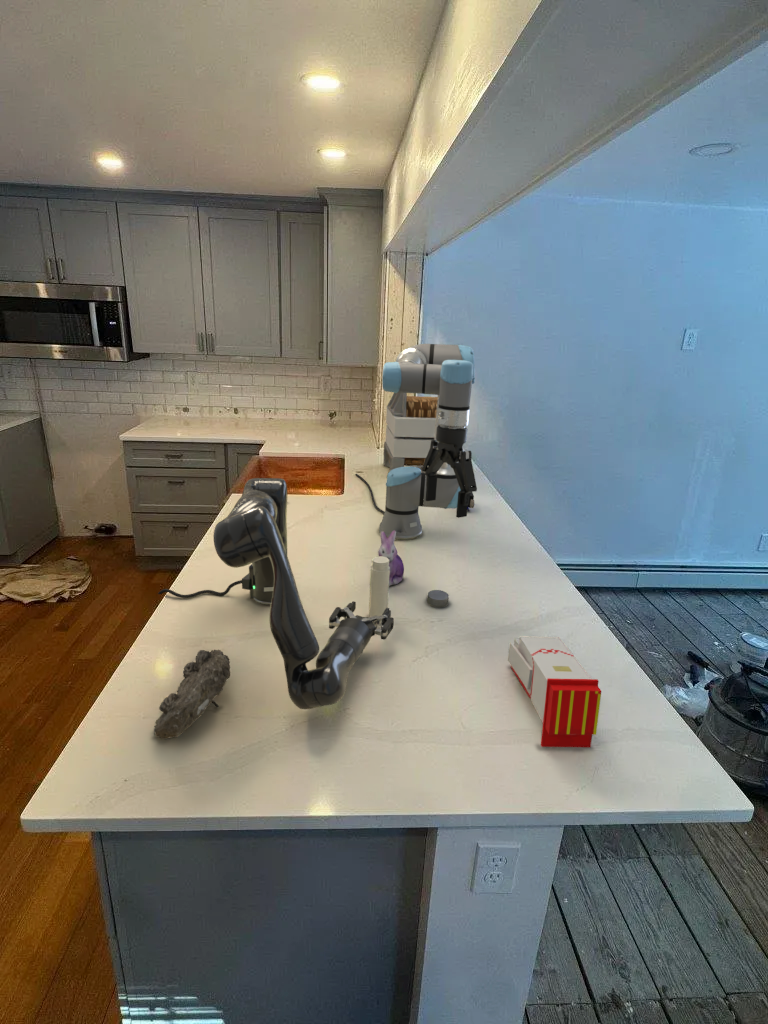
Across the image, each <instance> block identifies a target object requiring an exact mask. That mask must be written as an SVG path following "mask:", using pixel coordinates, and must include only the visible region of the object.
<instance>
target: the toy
mask: <svg viewBox="0 0 768 1024" xmlns="http://www.w3.org/2000/svg"><path fill="white" fill-rule="evenodd" d="M507 662H508V663H509V665H510V669H511V671H512V672H513V674H514V675H515V677H516V678H517V680H518V681H519V683H520V684H521V686H522V688H523V690H524V692H525V693H526V695H527V696H528V698H529V699H530V702H531V703H532V706H533V707H534V709H535V711H536V713H537V715H538V716H539V718H540V721H541V722H542V729H541V739H540V746H541V748H591V747H592V738H593V736H597V730H598V722H599V713H600V707H601V698H602V690H601V688H600V687H599V683H600V681H599V679H597V678H596V679H595V678H592V676H590V674H589V673H588V672H587V671H586V669H585V668H584V667H583V666H582V664H581V663H580V662H579V660H578V659H577V658H576V657H575V655H574V654H573V653H572V651H571V650H570V649H569V648H568V646H567V645H566V644H565V642H564V641H563V640H562V639H561V637H560V636H527V635H526V636H523V635H522V636H521V635H519V637H514V640H513V641H511V642H509V647H508V652H507Z"/></svg>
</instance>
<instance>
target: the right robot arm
mask: <svg viewBox="0 0 768 1024" xmlns="http://www.w3.org/2000/svg"><path fill="white" fill-rule="evenodd" d="M474 352H475V351H474V349H473V347H471V346H469V345H463V344H443V343H439V344H438V343H419V344H415V345H411V346H408V347H405V348H404V349H403V350H402V351H400V352H399V353H398V354H397V357H396V359H395V361H390V362H389V361H386V362H385V363H384V364H383V368H382V379H381V381H382V382H381V383H382V385H381V386H382V390H383V391H384V392H387V393H393V394H394V393H407V394H422V395H433V396H436V397H437V410H436V424H435V437H434V440H432V441H431V445H430V449H429V452H428V454H427V457H426V459H425V462H424V464H423V466H421V468H420V467H419V466H418V467H417V466H404V467H399V468H395V469H393V470H391V471H390V470H389V471H388V473H387V475H386V482H385V487H386V488H385V489H386V490H385V504H384V505H385V507H384V508H385V509H384V510H383V509H381V508H380V507H378V505H377V503H376V501H375V497H374V494H373V493H374V492H373V490H372V488H371V486H370V483H368V482H367V481H366V479H364V478H363V477H362V476H361V475H360V474H358V473H355V474H354V475H355V476H356V477H357V478H359V479H360V480H361V481H362V482H363V483H364V484H365V485H366V486H367V488H368V490H369V494H370V497H371V501H372V504H373V506H374V508H375V509H376V510H377V512H380V513H382V514H383V515H382V519H381V522H379V527H378V533H379V534H380V535H381V532H382V531H383V532H384V533H385V535H386V536H387V538H388V537H389V536H390V534H391V533H392V531H394V530H395V531H396V537H395V540H394V541H410V540H415V539H418V538H420V537H421V536H422V535H423V525H422V524H421V518H420V515H419V507H424V508H436V509H444V510H447V509H456V515H455V516H456V518H458V519H459V518H464V517H468V510H467V509H468V508H469V507H468V505H469V499H470V493H471V492H472V493H474V492H477V491H478V487H477V482H476V476H475V472H474V467H473V461H472V456H473V455H472V454H473V453H472V451H471V450H464V448H463V447H464V444H466V443H467V441H468V428H467V426H469V421H470V410H471V409H470V404H471V396H472V388H473V384H475V383H476V364H475V353H474ZM458 461H459V463H458ZM464 486H465V487H464Z"/></svg>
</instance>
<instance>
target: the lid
mask: <svg viewBox="0 0 768 1024" xmlns="http://www.w3.org/2000/svg"><path fill="white" fill-rule="evenodd" d="M426 596H427V597H426V603H427V604H428V605H429V606H431V607H433V608H445V607H447V606H448V605H449V596H450V595H449V594H448V593H447V591H444V590H441V589H433V590H429V591H428V592H427V595H426Z"/></svg>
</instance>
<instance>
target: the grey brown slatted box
mask: <svg viewBox="0 0 768 1024" xmlns="http://www.w3.org/2000/svg"><path fill="white" fill-rule="evenodd" d="M407 394H408V393H394V392H393V394H392V395H391V398H390V400H389V402H388V404H387V405H386V413H385V414H386V415H385V423H386V428H385V438H384V442H383V466H384V467H388V468H389V472H390V471H391V470H393V469H395V468H399V467H405V466H406V467H408V466H411V467H417V466H418V467H423V464H424V462H425V459H426V457H427V454H428V452H429V449H430V445H431V441H432V440H434V437H435V424H436V410H437V397H438V396H415V395H414V396H413V395H412V396H411V395H407ZM458 463H459V461H458Z"/></svg>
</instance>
